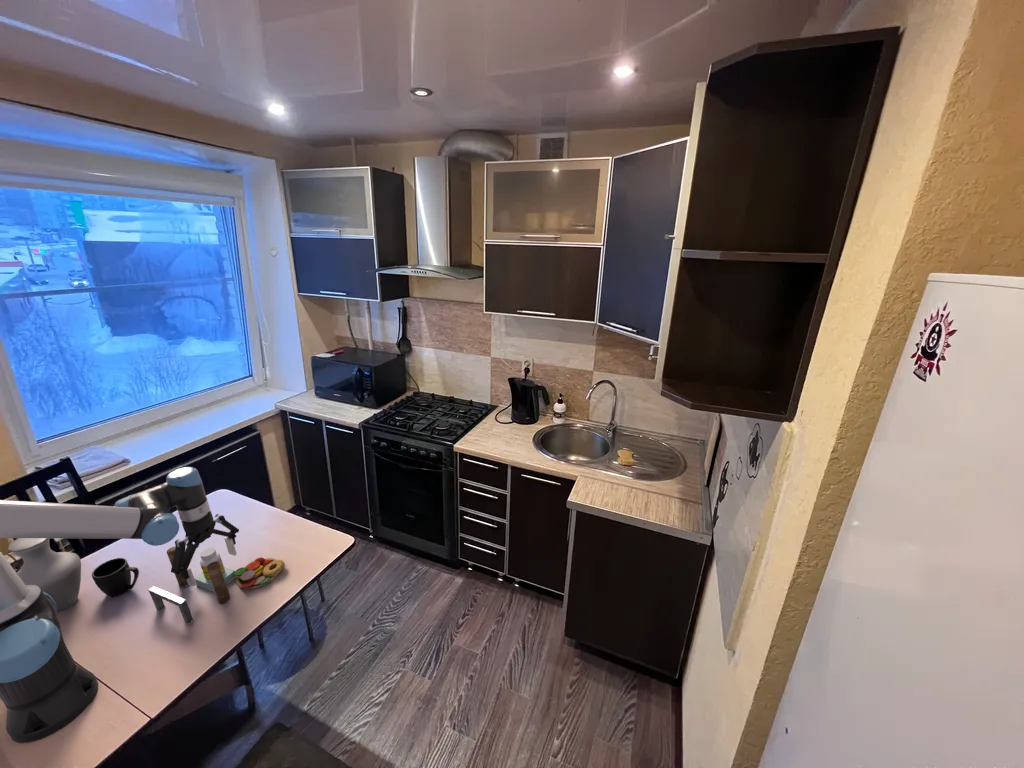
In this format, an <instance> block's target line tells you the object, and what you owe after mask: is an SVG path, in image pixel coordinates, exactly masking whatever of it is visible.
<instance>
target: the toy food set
mask: <svg viewBox="0 0 1024 768" xmlns="http://www.w3.org/2000/svg"><path fill="white" fill-rule="evenodd" d="M285 566H286V564H285V561H284V560H283V559H277V558H274V557H273V558H271V557H268V558H265V557H257V558H255V559H254V560H252V561H251V562H249V563H248V564H246V565H245V566H244V567H239V568H238V569H237V568H236V570H235V572H234V575H235V576H236V584H237V586H239V588H242V589H246V590H249V589H250V590H251V589H257V588H261V587H263V586H265V585H267V584H268V583H270V582H272V581H273V580H274V579H275V578H276V577H277V576H278V574H280V573H281V572H282V571H283V570H284V568H285Z"/></svg>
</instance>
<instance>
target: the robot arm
mask: <svg viewBox="0 0 1024 768" xmlns="http://www.w3.org/2000/svg"><path fill="white" fill-rule="evenodd" d="M206 494H207V493H206V491H205V487H204V484H203V480H202V477H201V476H200V473H199V471H198V469H197V468H196V467H193V466H184V467H179V468H177V469H174V470H173V471H170V472H169V473H168V474H167V475H166V481H165V482H163V483H161V484H158V485H156V486H152V487H150V488H148V489H144V490H141V491H139V492H136V493H133V494H130V495H128V496H125V497H122V498H121V499H118V500H117V501H115V503H114V506H113V505H96V504H95V505H94V504H78V503H76V504H75V503H60V502H59V503H57V502H42V501H41V502H40V501H38V502H37V501H26V500H24V501H23V500H7V499H0V539H18V538H49V539H102V540H103V539H104V540H105V539H107V540H108V539H109V540H110V539H112V540H113V539H114V540H116V539H118V540H119V539H123V540H125V539H126V540H128V539H129V540H130V539H131V540H142V541H143V542H144V543H145V544H146V545H150V546H154V547H155V546H156V547H158V546H163V545H166V544H167V543H169V542H171V541H172V540H173V539H174V538H176V537H177V535H178V533H179V530H180V523H181V525H182V528H183V530H184V533H185V537H183V538H181V539H175V541H174V545H175V546H176V549H175V554H174V558H173V563H172V565H171V569H170V572H171V573H173V574H174V575H175V574H177V575H178V574H181V576H182V578H183V579H185V580H187V583H188V584H189V585H188V586H192V587H195V586H197V584H196V582H195V576H194V574H193V572H192V568H191V567H189V566H190V564H191V562H192V560H193V557H194V554H195V552H196V550H197V549H199V545H200V544H202V543H204V542H205V541H206V540H208V539H210V538H211V537H212V535H219V536H223V537H224V541H225V546H226V548H227V552H228V554H229V555H232V556H234V557H235V556H237V554H238V553H237V550H236V546H235V545H236V542H237V541H236V538H237V535H236V533H237V534H238V533H239V531H240V530H239V528H237V527H236V526H235V525H233V523H231V522H229V521H228V520H227V519H226V518H225V516H224V515H222V514H219V513H217V514H215V515H214V517H213V512H212V511H211V507H210V503H209V501H208V497H207V495H206ZM175 507H176V510H177V514H178V515H179V519H180V521H181V522H180V523H179V522H178V519H177V516H176V515H175V514H174V513H173V512H172V511H171V509H173V508H175ZM217 523H218V524H220V525H221V526H223V527H224V528H226V529H227V530H229V531H225V530H220V529H217V528H215V527H216V524H217ZM175 546H174V547H175ZM98 689H99V681H98V679H97V677H96V676H95V673H93V672H92V671H90V670H88V669H85V668H84V667H82V666H80V665H78V664H77V663H76V661H75V660H74V658H73V656H72V655H71V652H70V651H69V649H68V647H67V645H66V642H65V640H64V636H63V632H62V628H61V624H60V619H59V615H58V612H57V606H56V603H55V601H54V600H53V599H52V598H51V597H50V596H49V595H48V594H47V593H44V592H42V591H41V589H40V588H39V587H38V586H36V585H25V584H24V582H23V581H22V580H21V578H20V577H19V576H18V574H17V571H16V570H15V569H14V568H13V566H12V565H11V563H9V561H8V560H7V558H6V557H5V556H4V555H3V553H2V552H1V551H0V700H1V701H2V703H3V704H4V705H5V707H6V720H5V721H6V722H5V728H6V733H7V735H8V736H9V737H10V738H11V740H12V741H13V742H16V743H19V744H27V743H32V742H36V741H39V740H42V739H44V738H47V737H48V736H51V735H53V734H55V733H56V732H58V731H60V730H62V729H63V728H65V727H66V726H68V725H69V724H70V723H72V722H73V721H75V720H76V718H78V717H79V716H80V715H81V714H82V713H84V712H85V710H86V709H87V708H88V707H89V705H90V704H91V703H92V702H93V700H94V699H95V697H96V695H97V693H98Z"/></svg>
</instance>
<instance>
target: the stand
mask: <svg viewBox="0 0 1024 768" xmlns="http://www.w3.org/2000/svg"><path fill="white" fill-rule="evenodd" d="M224 569H225V573H224V575H223V577H224V580H225V583H226V585H228V584H229V583H231V582H232V581H233V580H234V579H235V578H237V576H235V575H234V572H235V571H236V570H234V569H232V568H229V567H227V566H224ZM194 579H195V582H196V586H199V587H201V588H204V589H206V590H209V591H211V592H214V593H216V592H215V589H214V586H213V584H212V581H207V580H206V579H205V576H204V573H203V572H202V573H200V574H199V575H198V576H196V577H194Z"/></svg>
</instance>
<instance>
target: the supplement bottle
mask: <svg viewBox="0 0 1024 768" xmlns="http://www.w3.org/2000/svg"><path fill="white" fill-rule="evenodd" d="M199 555H200V561H199V565H200V567H201V569H202V573H204V576H205V579H206V580H207V581H211V578H210V575H209V572H208V569H207V566H208V565H209V564H210V563H212V562H216V561H217V562H219V564H220V568H221V571H222V574H223V575H224V573H225V569H224V567H225V565H224V563H223V560H222V556H221V554H220V552H217V551H216V548H214V547H207V548H204V549H203V550H202V551H201V552H200V554H199Z"/></svg>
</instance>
